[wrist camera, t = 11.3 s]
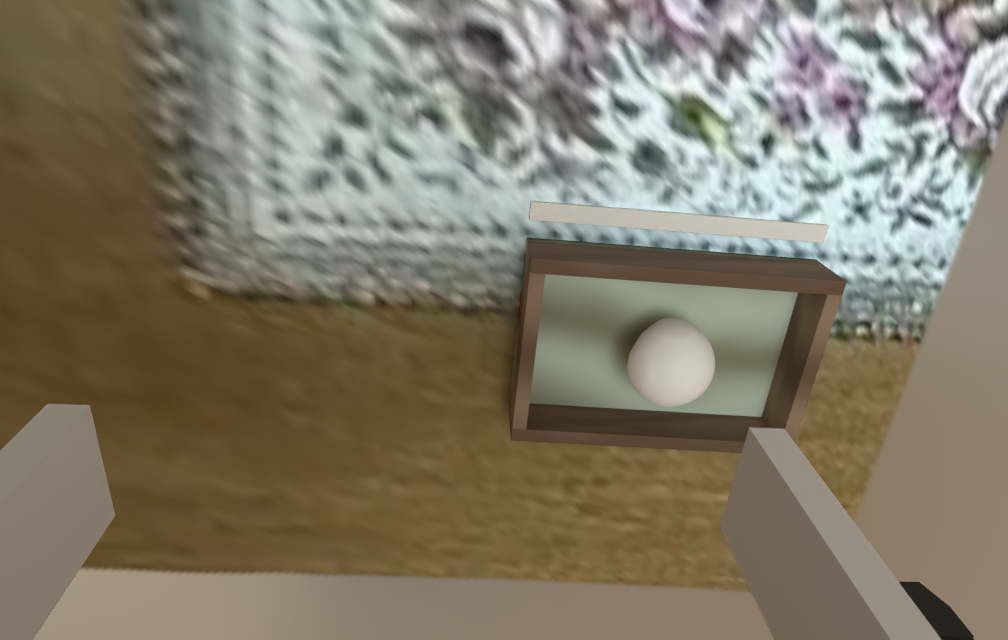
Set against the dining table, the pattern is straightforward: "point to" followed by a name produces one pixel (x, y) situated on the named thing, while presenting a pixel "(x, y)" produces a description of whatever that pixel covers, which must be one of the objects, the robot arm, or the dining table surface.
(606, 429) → the brown wooden tray
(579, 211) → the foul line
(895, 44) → the dining table surface
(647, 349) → the cream egg
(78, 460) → the robot arm
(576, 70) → the dining table surface
